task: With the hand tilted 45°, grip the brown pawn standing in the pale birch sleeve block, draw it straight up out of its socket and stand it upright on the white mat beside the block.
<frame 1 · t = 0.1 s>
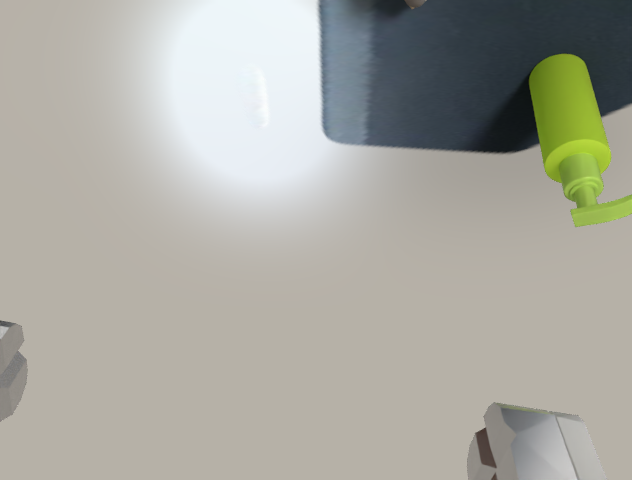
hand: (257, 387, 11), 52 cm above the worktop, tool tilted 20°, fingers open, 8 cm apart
soap dispenser: (562, 74, 65), on the worktop
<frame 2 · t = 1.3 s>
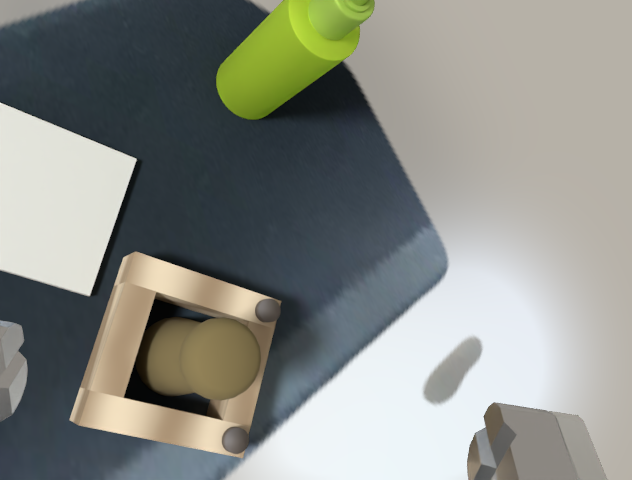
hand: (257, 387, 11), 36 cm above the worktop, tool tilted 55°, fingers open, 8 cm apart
sleeve block: (174, 356, 47), on the worktop
soap dispenser: (241, 84, 53), on the worktop
white mat: (36, 199, 43), on the worktop
brown pawn: (173, 356, 47), resting in sleeve block
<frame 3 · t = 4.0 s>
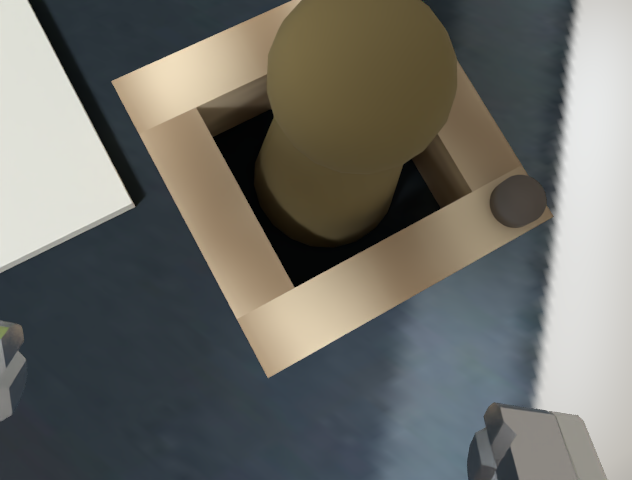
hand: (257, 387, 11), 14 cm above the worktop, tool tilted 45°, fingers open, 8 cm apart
sleeve block: (325, 177, 26), on the worktop
brown pawn: (324, 179, 26), resting in sleeve block
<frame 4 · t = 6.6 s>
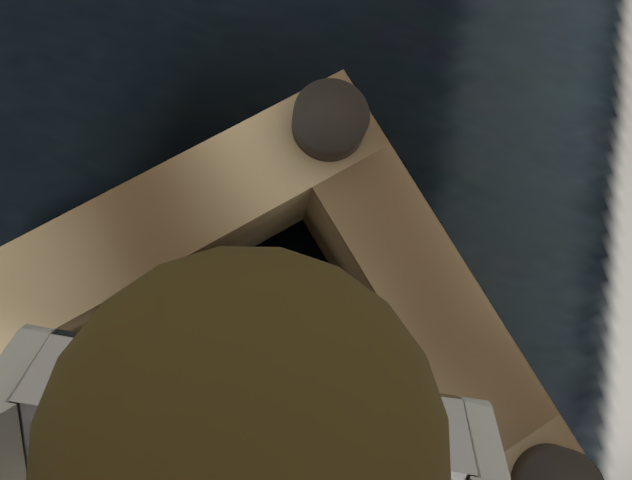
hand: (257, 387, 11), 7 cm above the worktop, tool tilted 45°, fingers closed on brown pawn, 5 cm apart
sleeve block: (254, 398, 17), on the worktop
brown pawn: (255, 398, 17), resting in sleeve block, touching gripper
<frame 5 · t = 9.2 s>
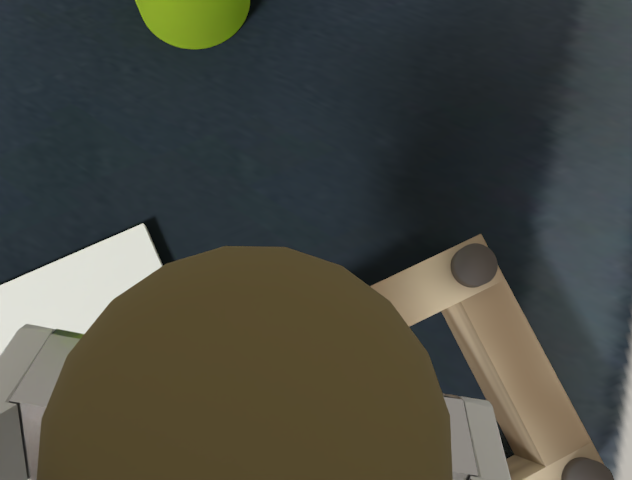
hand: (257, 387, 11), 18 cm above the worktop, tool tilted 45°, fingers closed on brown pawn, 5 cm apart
sleeve block: (407, 415, 28), on the worktop
soap dispenser: (185, 2, 32), on the worktop
white mat: (79, 380, 28), on the worktop
brown pawn: (257, 395, 17), point 11 cm above the worktop, touching gripper
when the fingers open (9 cm above the worktop, at t = 12.2 s): brown pawn moves 3 cm, resting on white mat.
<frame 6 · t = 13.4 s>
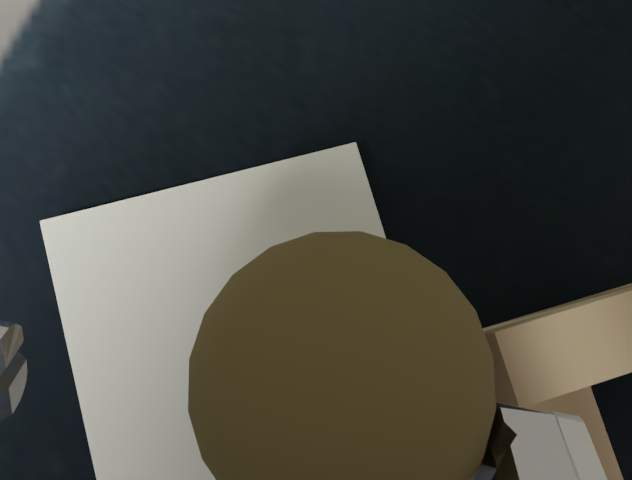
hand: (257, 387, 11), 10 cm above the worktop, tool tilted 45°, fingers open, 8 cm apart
white mat: (245, 336, 20), on the worktop
brown pawn: (338, 355, 20), point 1 cm above the worktop, touching white mat
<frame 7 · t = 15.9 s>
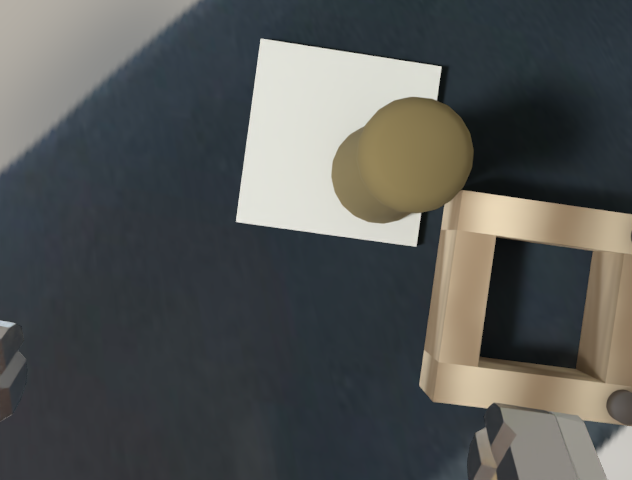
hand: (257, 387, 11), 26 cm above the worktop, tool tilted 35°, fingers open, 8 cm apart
sleeve block: (526, 302, 38), on the worktop
white mat: (338, 145, 37), on the worktop
brown pawn: (380, 174, 37), resting on white mat
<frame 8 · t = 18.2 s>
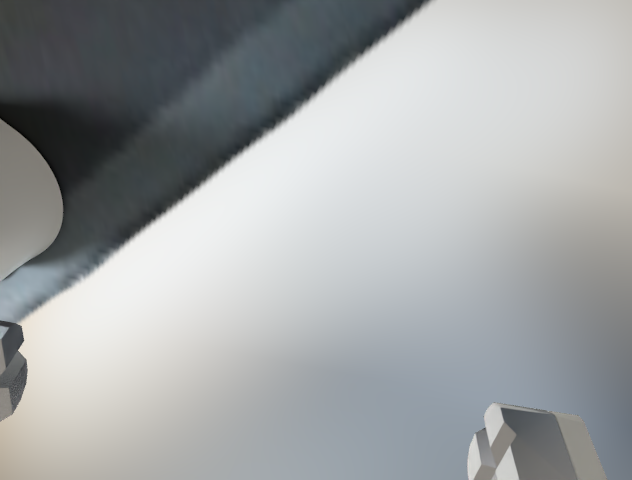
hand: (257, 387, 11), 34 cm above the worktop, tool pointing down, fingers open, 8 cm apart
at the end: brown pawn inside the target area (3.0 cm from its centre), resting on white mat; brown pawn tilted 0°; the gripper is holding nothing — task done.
